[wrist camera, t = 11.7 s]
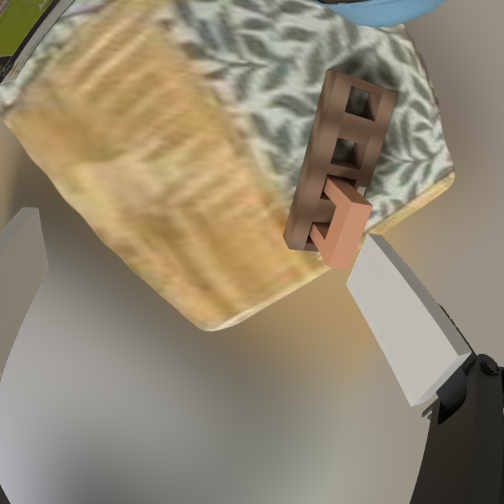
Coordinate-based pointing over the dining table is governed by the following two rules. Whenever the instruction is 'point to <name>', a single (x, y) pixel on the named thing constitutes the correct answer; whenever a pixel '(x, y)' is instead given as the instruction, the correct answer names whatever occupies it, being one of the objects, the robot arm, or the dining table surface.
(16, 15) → the grey electronic device
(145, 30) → the dining table surface
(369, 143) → the brown compartment rack
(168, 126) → the dining table surface
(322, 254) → the pink u-shaped block
